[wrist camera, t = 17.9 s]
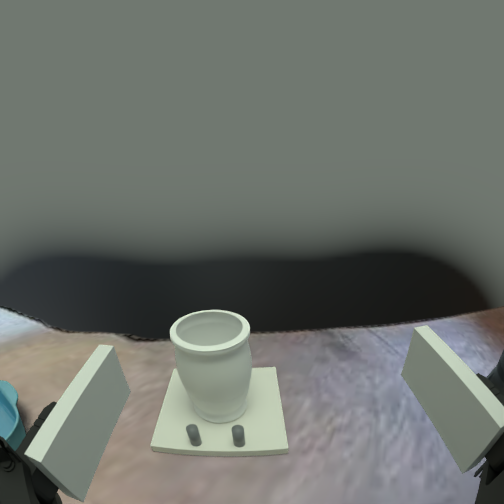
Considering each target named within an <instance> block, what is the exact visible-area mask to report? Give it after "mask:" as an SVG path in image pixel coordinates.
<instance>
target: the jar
mask: <svg viewBox="0 0 504 504" xmlns="http://www.w3.org/2000/svg"><path fill="white" fill-rule="evenodd" d="M249 335H250V325H249V323H248V321H247V320H246V319H245V318H244V317H242V316H240V315H238V314H236V313H233V312H229V311H223V310H205V311H199V312H194V313H191V314H188V315H186V316H183V317H182V318H180V319H178V320H177V321H176V322H175V323H174V324H173V325H172V327H171V329H170V338H171V341H172V343H173V344H174V346H175V360H176V366H177V371H178V374H179V377H180V379H181V381H182V384H183V385H184V387H185V389H186V392H187V394H188V396H189V397H190V399H191V400H192V402H193V403H194V409H195V411H196V413H197V414H198V415H199V416H200V417H201V418H203V419H204V420H207V421H209V422H214V423H226V422H230V421H233V420H235V419H237V418H239V417H240V416H241V415H242V414H243V413H244V412H245V410H246V408H247V400H246V396H247V394H248V390H249V384H250V379H251V372H252V359H251V352H250V347H249V343H248V338H249Z"/></svg>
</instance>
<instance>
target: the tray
mask: <svg viewBox="0 0 504 504" xmlns="http://www.w3.org/2000/svg"><path fill="white" fill-rule="evenodd" d="M246 400H247V408H246V410H245V412H244V413H243V414H242V415H241V416H240V417H239V418H237V419H235V420H233V421H230V422H226V423H214V422H209V421H207V420H204V419H203V418H201V417H200V416H199V415H198V414H197V413H196V411H195V409H194V403H193V402H192V400H191V399H190V397H189V396H188V394H187V392H186V389H185V387H184V385H183V384H182V381H181V379H180V377H179V374H178V371H177V369H174V371H173V374H172V377H171V380H170V383H169V386H168V389H167V392H166V396H165V399H164V402H163V405H162V408H161V412H160V415H159V418H158V422H157V425H156V428H155V432H154V435H153V439H152V442H151V445H150V446H151V448H152V450H153V451H156V452H164V453H172V454H183V455H196V456H223V457H238V456H265V455H278V454H288V443H287V437H286V431H285V424H284V418H283V412H282V405H281V399H280V393H279V387H278V381H277V374H276V368H275V367H266V368H252V372H251V379H250V384H249V390H248V394H247V396H246Z"/></svg>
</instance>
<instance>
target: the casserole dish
mask: <svg viewBox="0 0 504 504" xmlns="http://www.w3.org/2000/svg"><path fill="white" fill-rule="evenodd" d="M17 401H18V394H17V391H16V390H15V389H14V387H13V386H12V385H11V384H10V383H8V382H7V381H2V380H0V436H1V437H3V438H4V439H5V440H6V441H7V443H8V444H9V445H10V446H11V447H12V449H13V450H14V451H16V450H17V448H18V447H19V445H20V444H21V442H22V440H23V439H24V437H25V436H26V433H25V429H24V426H23V423H22V421H21V418H20V415H19V412H18V409H17V407H16V404H17Z"/></svg>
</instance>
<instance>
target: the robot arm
mask: <svg viewBox="0 0 504 504" xmlns="http://www.w3.org/2000/svg"><path fill="white" fill-rule="evenodd" d="M401 375H402V377H403V378H404V380H405V381H406V383H407V384H408V386H409V387H410V389H411V390H412V392H413V393H414V395H415V396H416V398H417V400H418V401H419V403H420V404H421V406H422V407H423V409H424V410H425V412H426V414H427V415H428V417H429V418H430V420H431V421H432V423H433V425H434V426H435V428H436V429H437V431H438V433H439V434H440V436H441V438H442V439H443V441H444V443H445V444H446V446H447V448H448V449H449V451H450V453H451V454H452V456H453V458H454V460H455V461H456V463H457V465H458V467H459V468H460V470H461V472H462V474H463V473H465V472H467V471H468V470H470V469H472V468H473V467H475V466H476V465H477V464H478V463H479V462H480V461H481V460H482V459H483V458H484V456H485V458H486V459H487V460H486V462H485V463H484V464H483V465H482V466H481V467H480V468H479V469H478V470H477V471H476V472H475V475H474V477H476V476H477V475H478V474H479V473H480V472H481V471H482V470H483V471H482V473H481V475H480V476H479V477H481V481H480V485H479V490H478V494H477V498H476V501H475V504H504V350H503V352H502V355H501V357H500V360H499V362H498V364H497V366H496V367H495V368H494V369H493V370H492V372H491V373H490V374H489V375H488V376H487V377H484V376H482V375H480V374H479V373H478V374H476V375H475V374H474V372H473V371H472V370H471V369H470V368H469V367H468V366H467V365H466V364H465V363H464V362H463V361H462V360H461V359H460V358H459V357H458V356H457V355H456V354H455V353H454V352H453V351H452V350H451V349H450V348H449V347H448V345H447V344H446V343H445V342H444V341H443V340H441V339H440V338H439V337H438V336H437V335H436V334H435V333H434V332H433V331H432V330H431V329H430V328H429V327H428V326H427V325H426V326H422V327H417V328H414V331H413V335H412V339H411V343H410V346H409V350H408V354H407V357H406V360H405V364H404V367H403V370H402V373H401ZM130 392H131V391H130V389H129V386H128V384H127V381H126V379H125V376H124V374H123V371H122V368H121V366H120V363H119V360H118V357H117V354H116V351H115V349H114V346H108V345H99V346H98V347H97V349H96V350H95V351H94V353H93V354H92V355H91V357H90V358H89V359H88V361H87V362H86V363H85V365H84V366H83V367H82V369H81V370H80V371H79V373H78V374H77V376H76V377H75V378H74V380H73V381H72V382H71V384H70V385H69V387H68V388H67V389H66V391H65V392H64V394H63V395H62V397H61V398H60V400H59V401H58V402H57V403H56V402H52V403H51V404H49V405H48V406H47V407H45V408H44V409H43V411H42V412H41V413H40V415H39V416H38V419H36V421H35V422H34V425H33V426H32V427H31V428H30V430H29V431H28V433H27V434H26V436H25V437H24V439H23V440H22V442H21V444H20V445H19V447H18V448H17V450H16V451H14V450H13V449H12V447H11V446H10V445H9V444H8V443H7V441H6V440H5V439H4V438H3V437H1V436H0V504H62V501H61V498H60V496H59V495H58V493H57V491H58V489H60V490H61V491H62V492H63V493H65V494H66V495H67V496H69V497H72V498H74V499H76V500H79V501H81V502H84V499H85V497H86V494H87V492H88V489H89V486H90V484H91V481H92V479H93V476H94V474H95V471H96V469H97V467H98V464H99V462H100V459H101V457H102V455H103V452H104V450H105V448H106V445H107V443H108V441H109V438H110V436H111V434H112V431H113V429H114V427H115V425H116V423H117V420H118V418H119V416H120V414H121V412H122V409H123V407H124V405H125V403H126V401H127V399H128V396H129V394H130Z"/></svg>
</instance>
